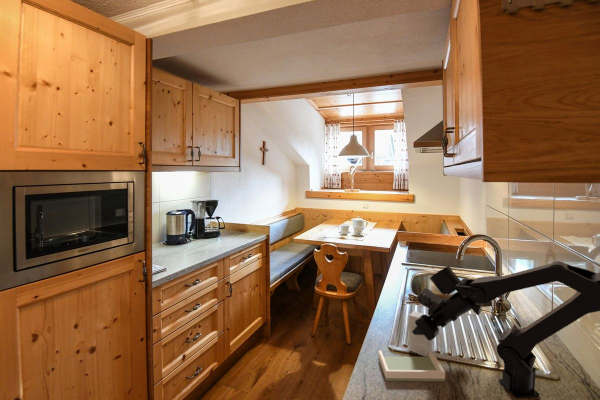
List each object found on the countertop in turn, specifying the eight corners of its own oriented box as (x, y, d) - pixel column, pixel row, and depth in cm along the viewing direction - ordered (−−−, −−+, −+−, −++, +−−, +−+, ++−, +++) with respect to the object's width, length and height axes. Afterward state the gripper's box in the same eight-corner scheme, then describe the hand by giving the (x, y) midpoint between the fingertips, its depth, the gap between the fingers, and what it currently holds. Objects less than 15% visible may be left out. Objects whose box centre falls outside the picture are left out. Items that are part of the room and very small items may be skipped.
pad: (431, 359, 97) (431, 350, 96) (444, 381, 87) (445, 371, 86) (378, 358, 97) (378, 350, 97) (386, 380, 87) (386, 371, 87)
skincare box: (432, 351, 100) (433, 316, 99) (427, 358, 97) (428, 321, 96) (413, 345, 105) (414, 310, 103) (408, 350, 101) (408, 315, 100)
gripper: (444, 275, 103) (410, 299, 111) (422, 292, 89) (386, 318, 98) (470, 305, 98) (433, 327, 107) (451, 328, 85) (410, 352, 93)
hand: (416, 330), depth 101 cm, fingers closed on skincare box, 4 cm apart
